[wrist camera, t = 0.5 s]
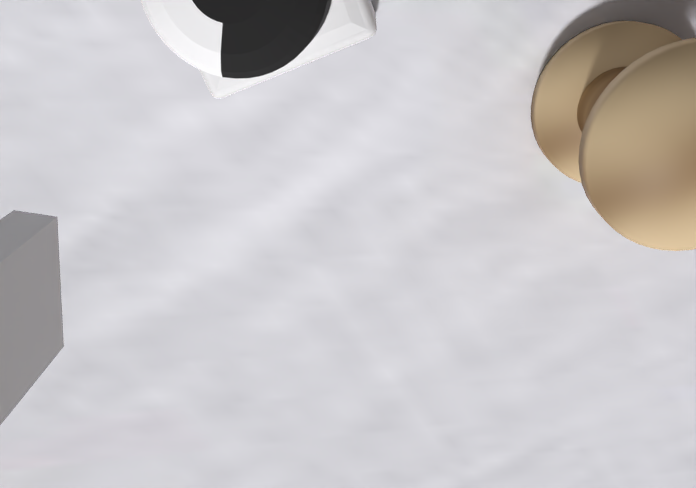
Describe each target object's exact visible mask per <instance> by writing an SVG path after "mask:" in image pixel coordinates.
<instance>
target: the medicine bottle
mask: <svg viewBox="0 0 696 488" xmlns="http://www.w3.org/2000/svg"><path fill="white" fill-rule="evenodd" d="M141 3H142V6H143V9H144V11H145V13H146V15H147V17H148V20H149V21H150V23H151V25H152V26H153V28H154V30H155V31H156V33H157V34H158V35H159V37H160V38H161V39H162V40H163V42H164V43H165V44H166V45H167V46H168V47H169V48H170V49H171V50H172V51H173V52H174V53H175V54H176V55H178V56H179V57H180V58H182V59H183V60H184V61H185V62H187V63H189V64H190V65H192V66H194V67H196V68H197V69H199V70H200V72H201V74H202V77H203V79H204V81H205V83H206V85H207V87H208V89H209V91H210V93H211V95H212V96H213V97H215V98H217V99H221V98H225V97H227V96H230V95H232V94H235V93H237V92H240V91H242V90H244V89H247V88H249V87H252V86H254V85H257V84H259V83H262V82H264V81H266V80H269V79H271V78H274V77H276V76H279V75H281V74H284V73H286V72H288V71H291V70H293V69H296V68H298V67H301V66H303V65H306V64H308V63H311V62H313V61H315V60H318V59H320V58H323V57H325V56H328V55H330V54H333V53H335V52H337V51H340V50H342V49H345V48H347V47H350V46H352V45H355V44H357V43H359V42H362V41H364V40H367V39H369V38H371V37H372V36H374V35H375V32H376V30H377V29H376V14H375V11H374V8H373V6H372V3H371V0H141Z"/></svg>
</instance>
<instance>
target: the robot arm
mask: <svg viewBox="0 0 696 488" xmlns="http://www.w3.org/2000/svg"><path fill="white" fill-rule="evenodd" d="M63 347H64V343H63V323H62V303H61V283H60V263H59V243H58V222H57V217H55V216H49V215H42V214H35V213H28V212H21V211H12V212H11V213H9V214H8V215H6V216H5V217H3V218H2V219H1V220H0V425H1V424H2V422H3V421H4V420H5V419H6V418H7V416H8V415H9V414H10V413H11V411H12V410H13V409H14V408H15V406H16V405H17V404H18V403H19V401H20V400H21V399H22V398H23V396H24V395H25V394H26V393H27V391H28V390H29V389H30V388H31V386H32V385H33V384H34V383H35V381H36V380H37V379H38V378H39V376H40V375H41V374H42V373H43V372H44V370H45V369H46V368H47V367H48V365H49V364H50V363H51V362H52V360H53V359H54V358H55V357H56V355H57V354H58V353H59V352H60V350H61V349H62V348H63Z"/></svg>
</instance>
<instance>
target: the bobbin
mask: <svg viewBox="0 0 696 488" xmlns="http://www.w3.org/2000/svg"><path fill="white" fill-rule="evenodd" d="M531 122H532V128H533V132H534V136H535V139H536V141H537V143H538V146H539V147H540V149H541V150H542V152H543V154H544V155H545V156H546V157H547V158H548V160H549V161H550V162H551V163H552V164H553V165H554V166H555V167H556V168H557V169H558V170H559V171H561V172H562V173H563V174H565V175H566V176H568V177H569V178H572V179H574V180H576V181H578V182H581V183H582V186H583V188H584V191H585V193H586V196H587V197H588V199H589V201H590V203H591V204H592V206H593V207H594V208H595V210H596V211H597V212H598V213H599V214H600V216H601V217H602V218H603V219H604V220H605V221H606V222H607V223H608V224H609V225H610V226H611V227H612V228H613V229H614V230H616V231H617V232H618V233H619V234H621V235H622V236H624V237H625V238H627V239H629V240H631V241H633V242H635V243H637V244H640V245H643V246H646V247H650V248H654V249H660V250H672V251H680V250H692V249H696V38H689V39H685V40H682V39H680V38H679V37H678V36H676V35H675V34H674V33H672V32H670V31H668V30H666V29H664V28H662V27H659V26H656V25H653V24H647V23H642V22H637V21H614V22H609V23H604V24H600V25H598V26H595V27H592V28H589V29H587V30H586V31H584V32H582V33H580V34H578V35H577V36H575V37H574V38H572V39H571V40H569V41H568V42H567V43H566V44H564V45H563V46H562V47H561V48H560V49H559V50H558V51H557V52H556V53H555V54H554V55H553V56H552V58H551V59H550V61H549V62H548V63H547V65H546V66H545V68H544V70H543V71H542V73H541V75H540V77H539V79H538V82H537V84H536V87H535V90H534V94H533V98H532V104H531Z"/></svg>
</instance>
